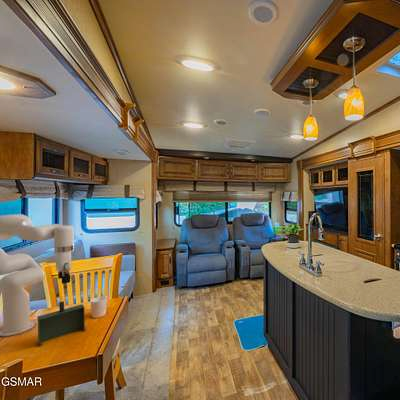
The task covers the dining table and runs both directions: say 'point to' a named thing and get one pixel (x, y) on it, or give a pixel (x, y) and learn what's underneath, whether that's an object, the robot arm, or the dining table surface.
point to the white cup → (98, 306)
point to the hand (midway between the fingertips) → (64, 280)
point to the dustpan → (60, 322)
